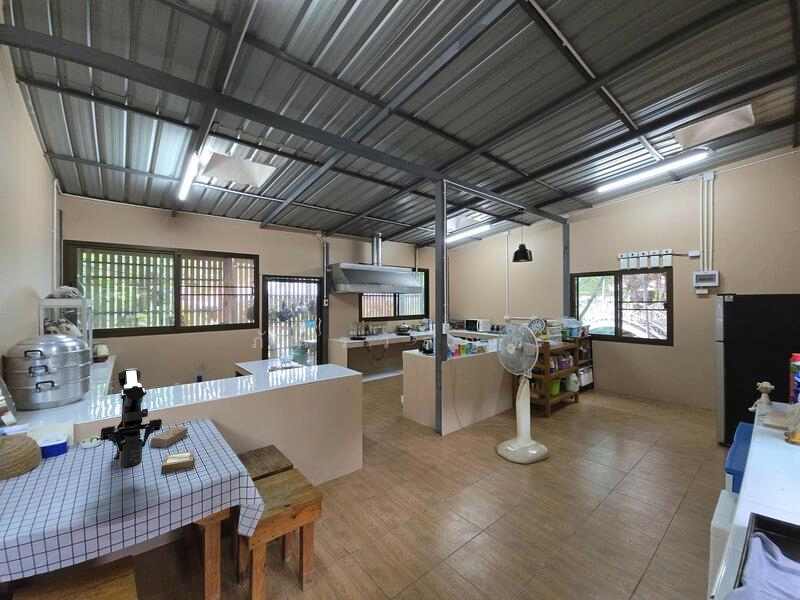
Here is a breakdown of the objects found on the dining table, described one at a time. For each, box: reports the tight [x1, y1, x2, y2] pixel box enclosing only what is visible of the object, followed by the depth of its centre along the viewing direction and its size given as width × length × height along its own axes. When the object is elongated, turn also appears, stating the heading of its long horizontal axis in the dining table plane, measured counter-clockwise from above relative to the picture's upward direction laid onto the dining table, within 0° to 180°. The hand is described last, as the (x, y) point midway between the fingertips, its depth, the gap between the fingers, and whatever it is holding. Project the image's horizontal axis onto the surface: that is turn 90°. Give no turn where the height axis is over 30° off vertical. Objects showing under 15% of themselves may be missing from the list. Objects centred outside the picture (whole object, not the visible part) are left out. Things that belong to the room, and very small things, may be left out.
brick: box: [149, 426, 189, 448], centre depth 164 cm, size 17×8×5 cm, turn 0°
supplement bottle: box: [118, 431, 144, 470], centre depth 124 cm, size 7×7×12 cm
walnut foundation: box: [160, 450, 195, 474], centre depth 139 cm, size 11×11×3 cm
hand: (132, 449), depth 123 cm, fingers closed on supplement bottle, 7 cm apart
